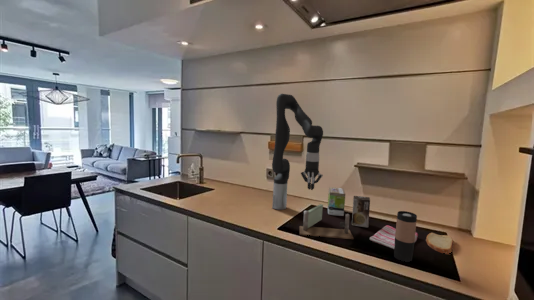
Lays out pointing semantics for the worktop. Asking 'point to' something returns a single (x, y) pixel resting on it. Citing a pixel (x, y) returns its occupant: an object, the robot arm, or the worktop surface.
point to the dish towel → (386, 236)
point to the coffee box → (361, 211)
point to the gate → (315, 215)
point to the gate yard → (326, 229)
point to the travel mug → (405, 236)
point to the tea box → (336, 201)
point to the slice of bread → (440, 242)
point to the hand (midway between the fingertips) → (310, 189)
